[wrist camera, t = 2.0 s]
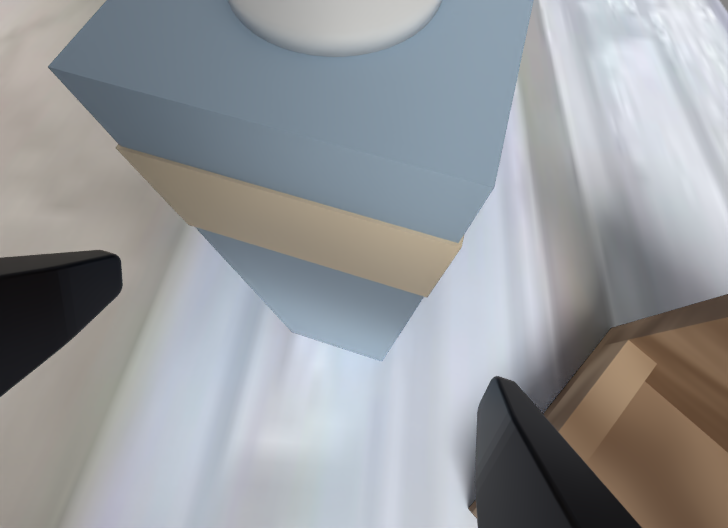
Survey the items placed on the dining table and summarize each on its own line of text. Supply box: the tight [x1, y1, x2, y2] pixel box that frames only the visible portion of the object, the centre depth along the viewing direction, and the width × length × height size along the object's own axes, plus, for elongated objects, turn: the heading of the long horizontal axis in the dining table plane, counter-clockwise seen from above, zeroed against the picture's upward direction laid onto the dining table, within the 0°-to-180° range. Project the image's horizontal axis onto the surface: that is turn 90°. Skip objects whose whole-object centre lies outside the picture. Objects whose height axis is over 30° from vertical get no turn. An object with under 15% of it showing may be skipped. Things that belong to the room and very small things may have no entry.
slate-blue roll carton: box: [48, 0, 533, 361], centre depth 12 cm, size 5×5×16 cm
